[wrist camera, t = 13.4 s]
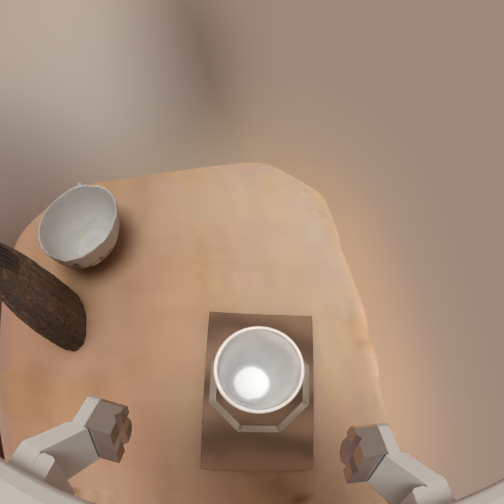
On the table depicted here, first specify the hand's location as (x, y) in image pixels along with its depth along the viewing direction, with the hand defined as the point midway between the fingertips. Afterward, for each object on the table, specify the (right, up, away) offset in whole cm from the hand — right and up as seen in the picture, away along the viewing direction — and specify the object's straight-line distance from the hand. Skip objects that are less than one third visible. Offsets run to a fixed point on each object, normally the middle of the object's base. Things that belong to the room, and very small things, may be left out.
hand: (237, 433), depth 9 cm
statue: (-25, -3, +28) cm, 38 cm away
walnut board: (+1, -11, +25) cm, 27 cm away
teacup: (-24, +8, +34) cm, 42 cm away
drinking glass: (0, -9, +25) cm, 26 cm away
